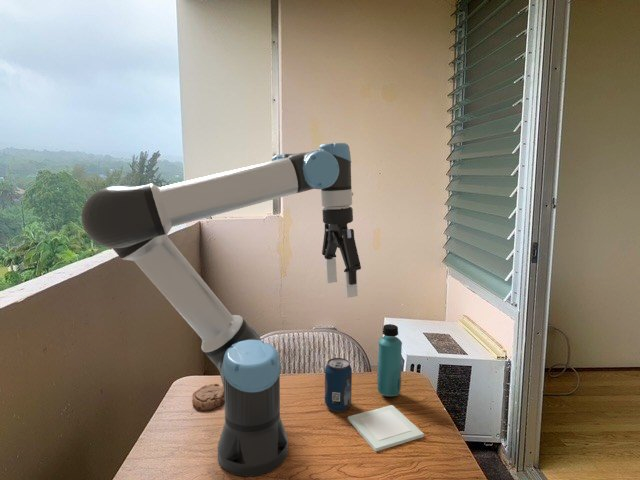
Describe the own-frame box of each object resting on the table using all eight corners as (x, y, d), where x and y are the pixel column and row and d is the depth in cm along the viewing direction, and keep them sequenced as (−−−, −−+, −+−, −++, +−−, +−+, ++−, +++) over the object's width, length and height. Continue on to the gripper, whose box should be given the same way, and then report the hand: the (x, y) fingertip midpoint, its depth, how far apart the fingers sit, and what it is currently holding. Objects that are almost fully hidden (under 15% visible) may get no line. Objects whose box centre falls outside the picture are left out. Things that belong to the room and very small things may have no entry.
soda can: (327, 397, 112) (327, 355, 110) (352, 400, 111) (353, 358, 109) (322, 411, 105) (322, 367, 103) (349, 414, 104) (350, 370, 102)
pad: (375, 451, 90) (375, 448, 90) (347, 419, 102) (347, 416, 102) (423, 436, 96) (423, 433, 95) (392, 407, 107) (392, 404, 107)
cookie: (187, 413, 105) (187, 402, 104) (195, 391, 115) (194, 381, 115) (227, 410, 106) (227, 399, 105) (231, 389, 116) (231, 379, 116)
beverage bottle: (400, 403, 109) (403, 331, 106) (375, 400, 111) (377, 329, 107) (400, 390, 116) (403, 322, 112) (377, 388, 117) (379, 320, 114)
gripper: (373, 210, 92) (376, 300, 96) (333, 202, 115) (337, 275, 119) (342, 213, 90) (346, 306, 94) (307, 204, 113) (312, 279, 117)
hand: (341, 289), depth 106 cm, fingers open, 13 cm apart
